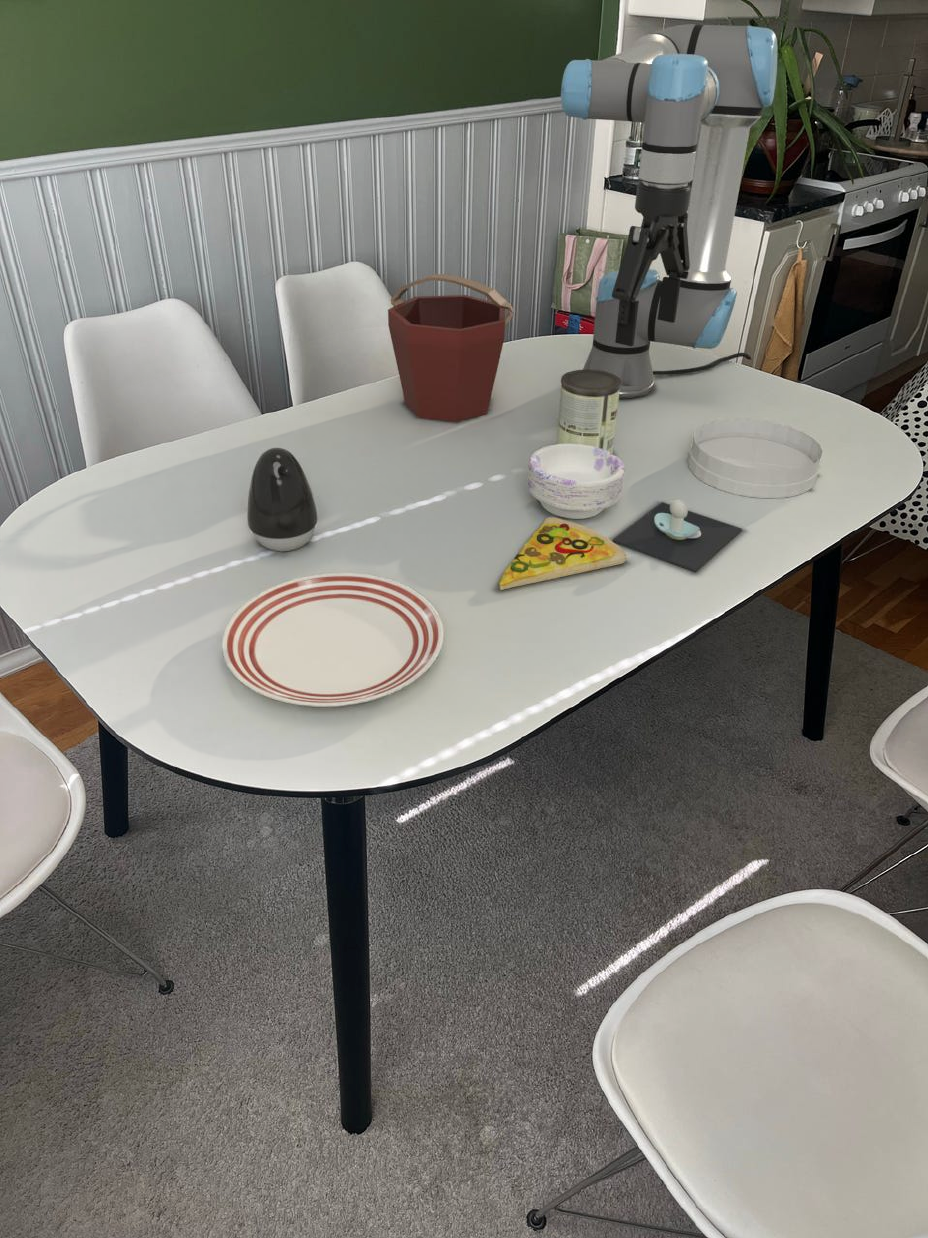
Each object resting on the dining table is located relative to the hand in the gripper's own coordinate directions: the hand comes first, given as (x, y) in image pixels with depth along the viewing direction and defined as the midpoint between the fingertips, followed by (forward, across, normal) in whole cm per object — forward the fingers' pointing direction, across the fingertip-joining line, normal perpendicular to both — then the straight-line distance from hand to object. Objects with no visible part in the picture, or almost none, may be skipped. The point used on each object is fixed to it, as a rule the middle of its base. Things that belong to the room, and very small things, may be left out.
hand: (645, 332), depth 145 cm
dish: (+27, -19, +14) cm, 36 cm away
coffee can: (+27, -6, -12) cm, 30 cm away
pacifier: (+26, +11, +15) cm, 32 cm away
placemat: (+26, +11, +15) cm, 32 cm away
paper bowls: (+26, +12, -3) cm, 29 cm away
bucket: (+27, -8, -45) cm, 53 cm away
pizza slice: (+26, +31, +4) cm, 40 cm away
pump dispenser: (+26, +50, -31) cm, 64 cm away
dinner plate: (+25, +65, -6) cm, 70 cm away
